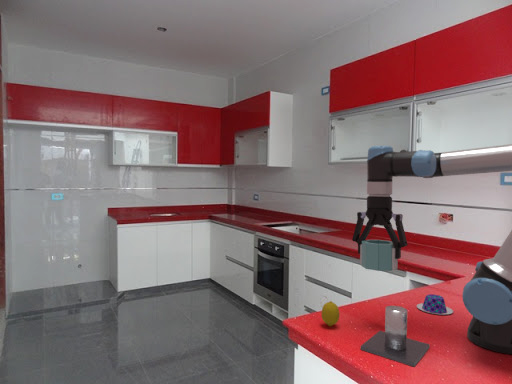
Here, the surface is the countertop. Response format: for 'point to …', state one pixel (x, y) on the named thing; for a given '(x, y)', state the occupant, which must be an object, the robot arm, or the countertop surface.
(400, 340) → the domed lamp fixture
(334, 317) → the lemon
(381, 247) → the collar
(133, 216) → the countertop surface
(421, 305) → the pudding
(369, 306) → the countertop surface
